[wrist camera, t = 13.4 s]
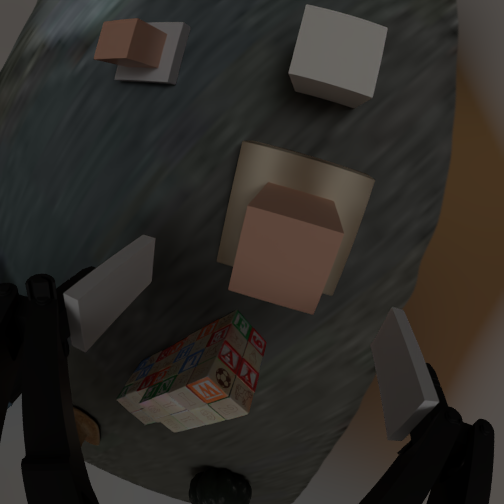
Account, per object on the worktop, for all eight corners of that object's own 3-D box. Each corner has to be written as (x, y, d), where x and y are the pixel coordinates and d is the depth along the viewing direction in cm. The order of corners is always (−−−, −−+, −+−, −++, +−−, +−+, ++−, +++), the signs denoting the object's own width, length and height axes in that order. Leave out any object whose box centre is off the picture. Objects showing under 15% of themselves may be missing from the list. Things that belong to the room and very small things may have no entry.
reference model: (124, 81, 28) (79, 74, 21) (138, 28, 25) (97, 10, 18) (175, 84, 27) (136, 74, 20) (190, 27, 25) (156, 3, 17)
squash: (174, 484, 55) (199, 532, 45) (188, 468, 49) (220, 525, 39) (221, 472, 64) (246, 514, 54) (242, 453, 58) (273, 502, 48)
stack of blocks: (166, 385, 46) (136, 439, 35) (141, 360, 44) (104, 412, 33) (268, 341, 38) (249, 415, 26) (237, 307, 36) (207, 378, 25)
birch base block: (227, 247, 33) (216, 261, 30) (251, 140, 28) (242, 141, 25) (330, 277, 32) (332, 295, 29) (366, 174, 28) (374, 180, 24)
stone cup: (65, 395, 58) (35, 433, 45) (103, 421, 58) (75, 463, 45) (69, 418, 65) (44, 452, 51) (102, 440, 65) (79, 476, 51)
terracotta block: (252, 243, 28) (228, 289, 20) (268, 182, 26) (247, 205, 18) (314, 261, 28) (313, 314, 20) (333, 201, 25) (344, 233, 17)
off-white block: (295, 91, 26) (288, 73, 18) (308, 39, 23) (306, 4, 15) (354, 108, 25) (372, 97, 17) (366, 56, 23) (387, 27, 15)
